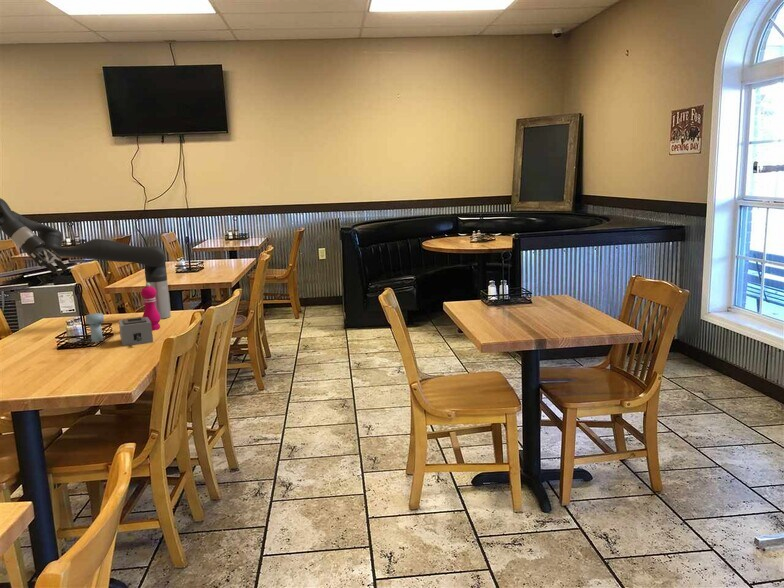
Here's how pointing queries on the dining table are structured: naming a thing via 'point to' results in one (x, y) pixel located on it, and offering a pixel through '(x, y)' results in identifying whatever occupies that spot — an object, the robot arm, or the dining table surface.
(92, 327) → the peg
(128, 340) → the grey block
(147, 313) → the pepper mill
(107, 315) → the dining table surface
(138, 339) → the plunger
